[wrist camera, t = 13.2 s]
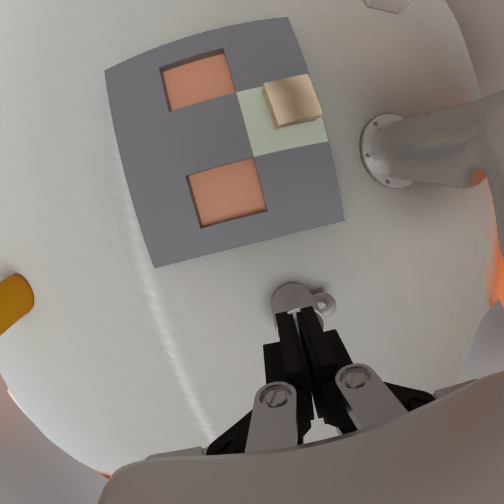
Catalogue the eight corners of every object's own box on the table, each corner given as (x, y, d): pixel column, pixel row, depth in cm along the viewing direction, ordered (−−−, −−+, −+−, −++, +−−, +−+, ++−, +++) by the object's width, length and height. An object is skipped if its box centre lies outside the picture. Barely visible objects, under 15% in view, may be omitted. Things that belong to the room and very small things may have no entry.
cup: (264, 290, 45) (268, 318, 37) (321, 269, 44) (337, 292, 36) (278, 324, 47) (284, 355, 38) (331, 305, 46) (347, 332, 38)
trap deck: (285, 23, 32) (287, 17, 30) (339, 217, 42) (344, 220, 39) (110, 74, 34) (104, 70, 31) (159, 263, 43) (154, 268, 41)
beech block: (301, 83, 33) (307, 73, 29) (314, 120, 35) (323, 114, 31) (261, 92, 34) (263, 83, 29) (274, 130, 35) (278, 125, 31)
